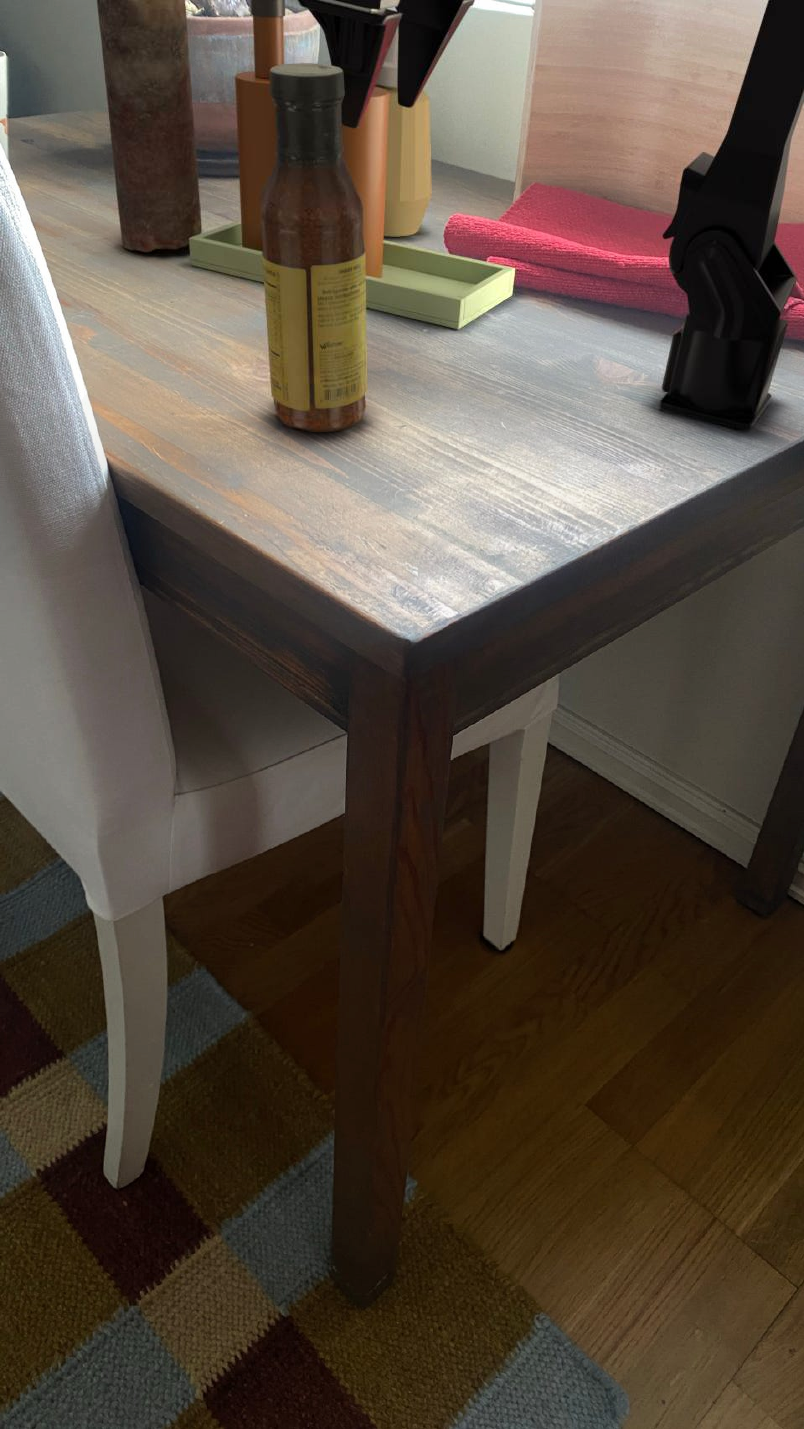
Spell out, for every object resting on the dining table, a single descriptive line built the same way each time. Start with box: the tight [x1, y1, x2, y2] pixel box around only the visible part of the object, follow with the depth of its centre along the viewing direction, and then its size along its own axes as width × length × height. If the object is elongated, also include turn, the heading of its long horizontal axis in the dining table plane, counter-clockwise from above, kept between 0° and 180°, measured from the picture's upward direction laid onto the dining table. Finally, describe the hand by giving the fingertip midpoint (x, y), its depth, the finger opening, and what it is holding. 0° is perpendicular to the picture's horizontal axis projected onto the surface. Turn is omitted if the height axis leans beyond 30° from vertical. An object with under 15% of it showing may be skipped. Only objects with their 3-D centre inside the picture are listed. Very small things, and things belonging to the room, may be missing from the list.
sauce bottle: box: [260, 62, 368, 433], centre depth 63 cm, size 7×6×20 cm
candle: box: [96, 0, 203, 253], centre depth 90 cm, size 8×7×20 cm
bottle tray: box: [188, 0, 516, 330], centre depth 85 cm, size 27×11×20 cm, turn 61°
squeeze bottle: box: [375, 27, 433, 238], centre depth 98 cm, size 8×8×18 cm
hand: (378, 116), depth 72 cm, fingers open, 9 cm apart
